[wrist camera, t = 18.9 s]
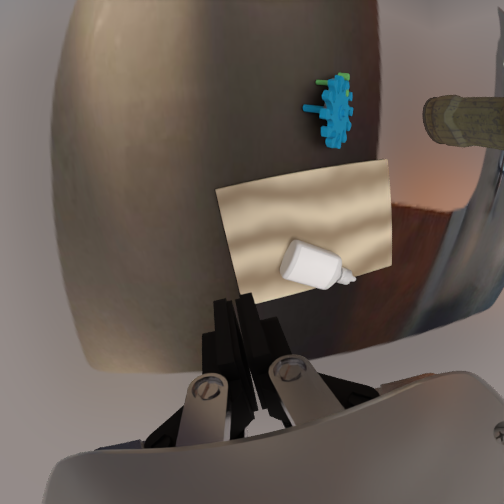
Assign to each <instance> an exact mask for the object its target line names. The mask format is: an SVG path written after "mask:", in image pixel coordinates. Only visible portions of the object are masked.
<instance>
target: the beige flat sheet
mask: <svg viewBox="0 0 504 504" xmlns="http://www.w3.org/2000/svg"><path fill="white" fill-rule="evenodd" d="M215 190H216V195H217V199H218V203H219V208H220V212H221V216H222V220H223V225H224V229H225V233H226V237H227V241H228V245H229V250H230V254H231V258H232V262H233V266H234V270H235V274H236V278H237V282H238V286H239V290H240V294H241V295H242V294H246V293H250V292H252V295H253V298H254V302H255V304H257V303H261V302H265V301H269V300H273V299H276V298H280V297H284V296H288V295H292V294H295V293H299V292H303V291H306V290H310V289H314V288H315V287H312V286H308V285H304V284H301V283H297V282H293V281H290V280H286V279H284V278H282V276H281V274H280V266H281V263H282V260H283V257H284V255H285V253H286V251H287V249H288V247H289V245H290V244H291V242H292V241H293V240H300V241H303V242H306V243H309V244H311V245H314V246H317V247H320V248H323V249H326V250H328V251H331V252H334V253H336V254H337V255H339V256H340V257H341V259H342V267H344V268H347V269H350V270H351V271H352V276H354V277H355V276H358V275H362V274H365V273H368V272H371V271H375V270H378V269H381V268H384V267H387V266H390V265H391V263H392V220H391V197H390V182H389V170H388V160H387V159H379V160H371V161H364V162H356V163H349V164H342V165H336V166H329V167H323V168H317V169H311V170H305V171H300V172H294V173H289V174H283V175H278V176H273V177H268V178H263V179H258V180H253V181H249V182H244V183H239V184H235V185H231V186H226V187H222V188H218V189H215Z"/></svg>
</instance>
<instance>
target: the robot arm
mask: <svg viewBox="0 0 504 504" xmlns="http://www.w3.org/2000/svg"><path fill="white" fill-rule="evenodd" d="M239 296H240V298H239V299H235V301H236V306H237V311H238V317H239V322H240V327H241V332H242V336H241V332H240V329H239V325H238V322H237V318H236V315H235V311H234V307H233V304H232V301H227V300H226V298H225V299H221V300H216V301H214V302H213V303H214V321H215V331H213V332H208V333H204V334H202V375H201V376H198V377H197V378H195V379H194V380H193V381H192V382H191V383H190V385H189V387H188V389H187V394H186V398H185V403H184V405H183V406H182V407H181V408H180V409H179V410H178V411H177V412H176V413H175V414H173V415H172V416H171V417H170V418H169V419H168V420H167V421H165V422H164V423H163V424H162V425H161V426H160V427H159V428H157V429H156V430H155V431H154V432H153V433H152V434H151V435H150V436H149V437H148V438H147V439H146V441H141V440H140V439H139V440H135V441H130V442H126V443H121V444H116V445H111V446H106V447H100V448H98V449H95V450H94V451H88V452H82V453H78V454H75V455H71V456H68V457H66V458H64V459H62V460H60V461H59V462H58V463H57V464H56V465H55V466H54V468H53V469H52V471H51V473H50V475H49V478H48V481H47V484H46V488H45V491H44V495H43V500H42V504H504V399H503V398H502V396H501V395H500V394H499V393H498V392H497V391H496V390H495V389H494V388H493V387H492V386H491V385H489V384H488V383H487V382H486V381H485V380H484V379H482V378H481V377H479V376H478V375H476V374H474V373H471V372H467V371H452V372H447V373H440V374H434V373H425V374H422V375H418V376H414V377H411V378H406V379H402V380H399V381H394V382H390V383H386V384H382V385H380V388H375V389H374V388H372V387H370V386H367V385H363V384H359V383H355V382H351V381H347V380H343V379H339V378H336V377H332V376H328V375H325V374H321V373H318V372H317V371H316V370H315V369H314V367H313V366H312V365H311V363H310V362H309V361H308V360H307V359H306V358H305V357H303V356H300V355H292V353H291V351H290V348H289V346H288V343H287V341H286V338H285V336H284V333H283V331H282V328H281V326H280V323H279V321H278V318H277V317H272V318H268V319H264V320H260V318H259V315H258V312H257V308H256V305H255V302H254V298H253V295H252V292H250V293H246V294H242V295H239ZM242 337H243V339H242ZM243 342H244V343H243ZM249 368H250V369H249ZM250 371H251V373H250ZM251 374H252V378H253V381H254V384H255V387H256V391H257V394H258V397H259V400H260V403H261V406H262V409H268V412H269V415H270V416H271V417H274V418H276V419H278V420H280V421H281V424H282V426H283V428H284V429H281V430H277V431H273V432H269V433H265V434H260V435H255V436H251V437H248V430H247V426H248V425H249V423H250V422H251V421H252V420H253V419H255V417H254V411H258V406H257V402H256V397H255V392H254V388H253V383H252V378H251Z"/></svg>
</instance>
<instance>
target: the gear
mask: <svg viewBox="0 0 504 504" xmlns="http://www.w3.org/2000/svg"><path fill="white" fill-rule="evenodd" d="M349 79H350V75H349V74H348V73H338V75H335V78H332V79H329V80H316V84H317V85H328V87H329V89H328V90H324V91H323V94H322V99H323V100H324V101H325V104H324V106H315V105H306V104H304V105H303V111H305V112H313V113H320V115H319V117H320V119H326V120H327V122H328V124H327V126H322V127H321V136H323V137H327V138H326V141H325V143H326V146H327V147H330V148H338V149H340V147H341V142H343V143H344V142H345V141H346V140H347V136H346V131H349V130H350V128H351V123H350V122H349V118H348V115H349V116H352V114H353V107H349V105H348V101H352V92H349V90H348V89H349V87H350V86H349V82H348V81H349Z"/></svg>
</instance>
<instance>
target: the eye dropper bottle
mask: <svg viewBox="0 0 504 504" xmlns="http://www.w3.org/2000/svg"><path fill="white" fill-rule="evenodd" d="M280 274H281V276H282V278H284V279H286V280H290V281H293V282H297V283H301V284H304V285H308V286H312V287H315V288H319V289H324V290H325V289H328V288H329V287H331V286H332V285H333V284H334V283H335V282H338V283H341V284H345V285H347V284H349V283H350V281H355V280H356V278H355V277H354V276H352V271H351V270H350V269H347V268H344V267H342V259H341V257H340V256H339V255H337V254H336V253H334V252H331V251H328V250H326V249H323V248H320V247H317V246H314V245H311V244H309V243H306V242H303V241H300V240H293V241H292V242H291V244H290V245H289V247H288V249H287V251H286V253H285V255H284V257H283V260H282V263H281V266H280Z"/></svg>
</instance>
